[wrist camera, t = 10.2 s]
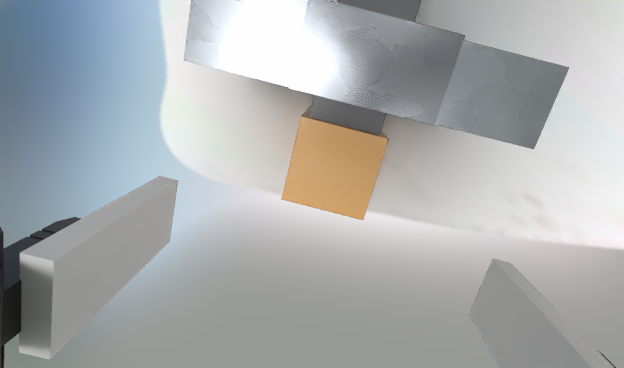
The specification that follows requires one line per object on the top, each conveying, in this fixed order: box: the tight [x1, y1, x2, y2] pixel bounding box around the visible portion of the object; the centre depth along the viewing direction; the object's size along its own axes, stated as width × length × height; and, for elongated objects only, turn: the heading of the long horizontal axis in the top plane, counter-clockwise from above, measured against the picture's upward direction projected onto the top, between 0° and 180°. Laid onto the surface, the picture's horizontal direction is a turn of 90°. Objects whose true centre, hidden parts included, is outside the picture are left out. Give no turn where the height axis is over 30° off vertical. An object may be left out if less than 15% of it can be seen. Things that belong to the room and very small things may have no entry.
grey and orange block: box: [282, 0, 421, 220], centre depth 27 cm, size 21×6×9 cm, turn 166°
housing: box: [184, 0, 569, 149], centre depth 23 cm, size 18×4×16 cm, turn 76°
